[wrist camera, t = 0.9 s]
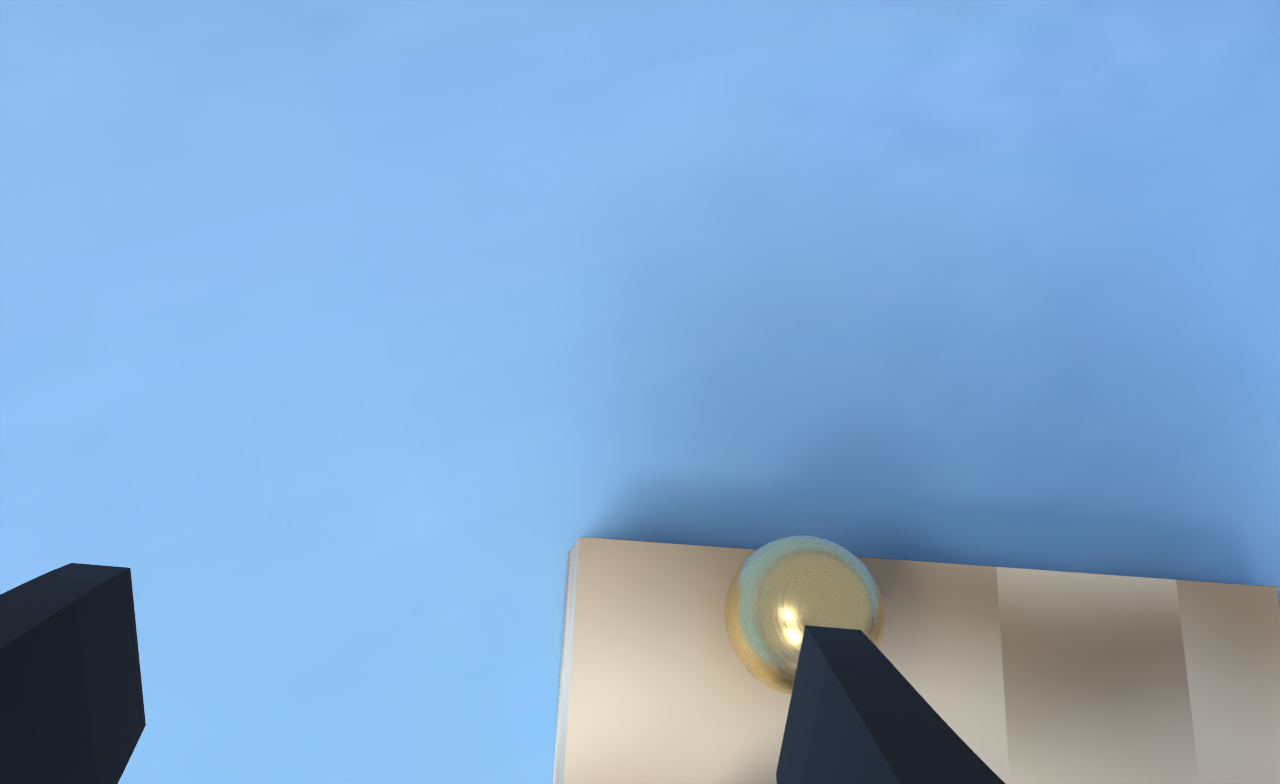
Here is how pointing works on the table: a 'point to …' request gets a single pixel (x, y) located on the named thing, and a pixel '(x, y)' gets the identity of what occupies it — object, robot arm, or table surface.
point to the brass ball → (797, 603)
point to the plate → (927, 671)
